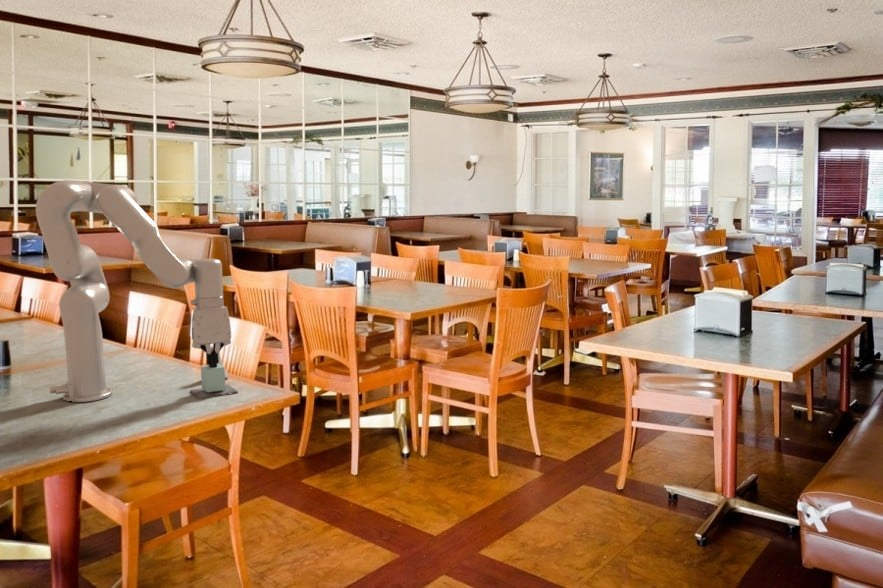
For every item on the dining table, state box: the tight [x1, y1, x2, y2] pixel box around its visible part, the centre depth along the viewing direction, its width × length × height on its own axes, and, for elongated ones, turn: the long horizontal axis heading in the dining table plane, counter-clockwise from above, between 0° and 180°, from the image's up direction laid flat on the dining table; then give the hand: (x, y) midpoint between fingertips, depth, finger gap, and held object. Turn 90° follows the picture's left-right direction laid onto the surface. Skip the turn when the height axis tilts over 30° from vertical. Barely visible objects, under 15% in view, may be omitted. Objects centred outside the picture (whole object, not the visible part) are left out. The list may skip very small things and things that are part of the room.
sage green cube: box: [200, 364, 226, 392], centre depth 217 cm, size 5×5×7 cm
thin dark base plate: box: [189, 384, 239, 400], centre depth 217 cm, size 11×9×7 cm
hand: (212, 366), depth 216 cm, fingers closed
